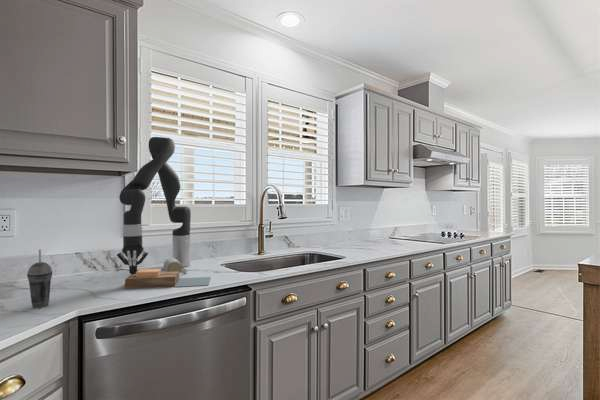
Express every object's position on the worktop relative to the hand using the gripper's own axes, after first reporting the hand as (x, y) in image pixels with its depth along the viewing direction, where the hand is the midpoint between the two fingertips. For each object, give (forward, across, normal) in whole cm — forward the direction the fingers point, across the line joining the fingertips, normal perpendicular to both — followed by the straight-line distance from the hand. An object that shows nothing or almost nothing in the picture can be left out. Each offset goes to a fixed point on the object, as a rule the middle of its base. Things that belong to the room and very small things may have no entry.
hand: (133, 274), depth 153 cm
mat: (+5, -25, 0) cm, 26 cm away
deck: (+5, -8, 0) cm, 10 cm away
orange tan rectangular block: (+1, -6, 0) cm, 6 cm away
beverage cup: (+5, +23, +26) cm, 36 cm away
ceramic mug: (+5, -15, -20) cm, 25 cm away
